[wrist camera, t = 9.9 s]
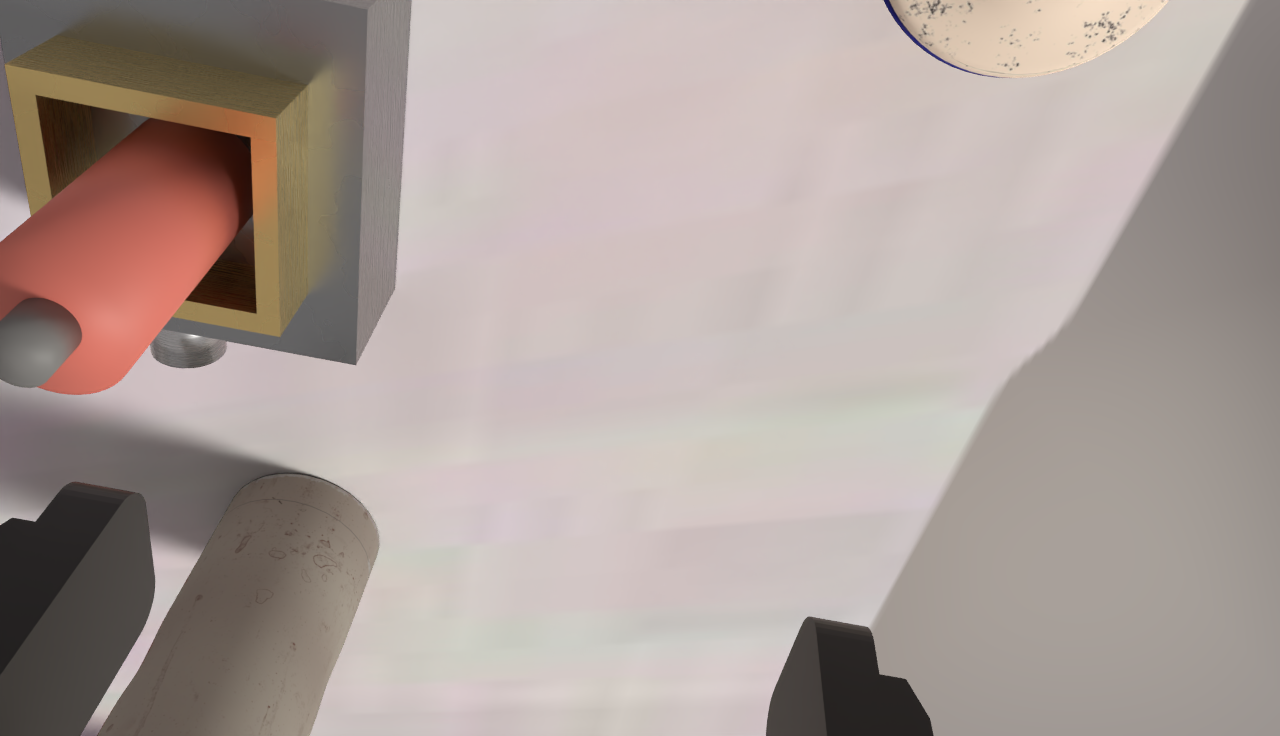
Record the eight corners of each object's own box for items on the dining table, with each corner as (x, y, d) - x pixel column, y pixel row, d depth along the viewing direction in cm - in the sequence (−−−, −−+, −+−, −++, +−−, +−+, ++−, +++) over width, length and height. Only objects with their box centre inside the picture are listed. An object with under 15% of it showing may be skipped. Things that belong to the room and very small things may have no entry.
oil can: (123, 97, 34) (-96, 265, 25) (261, 126, 35) (98, 302, 25) (133, 218, 37) (-61, 411, 27) (261, 243, 37) (114, 443, 28)
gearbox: (80, -106, 36) (-81, -49, 29) (413, -36, 37) (339, 37, 30) (128, 294, 46) (16, 414, 39) (391, 344, 47) (331, 471, 39)
